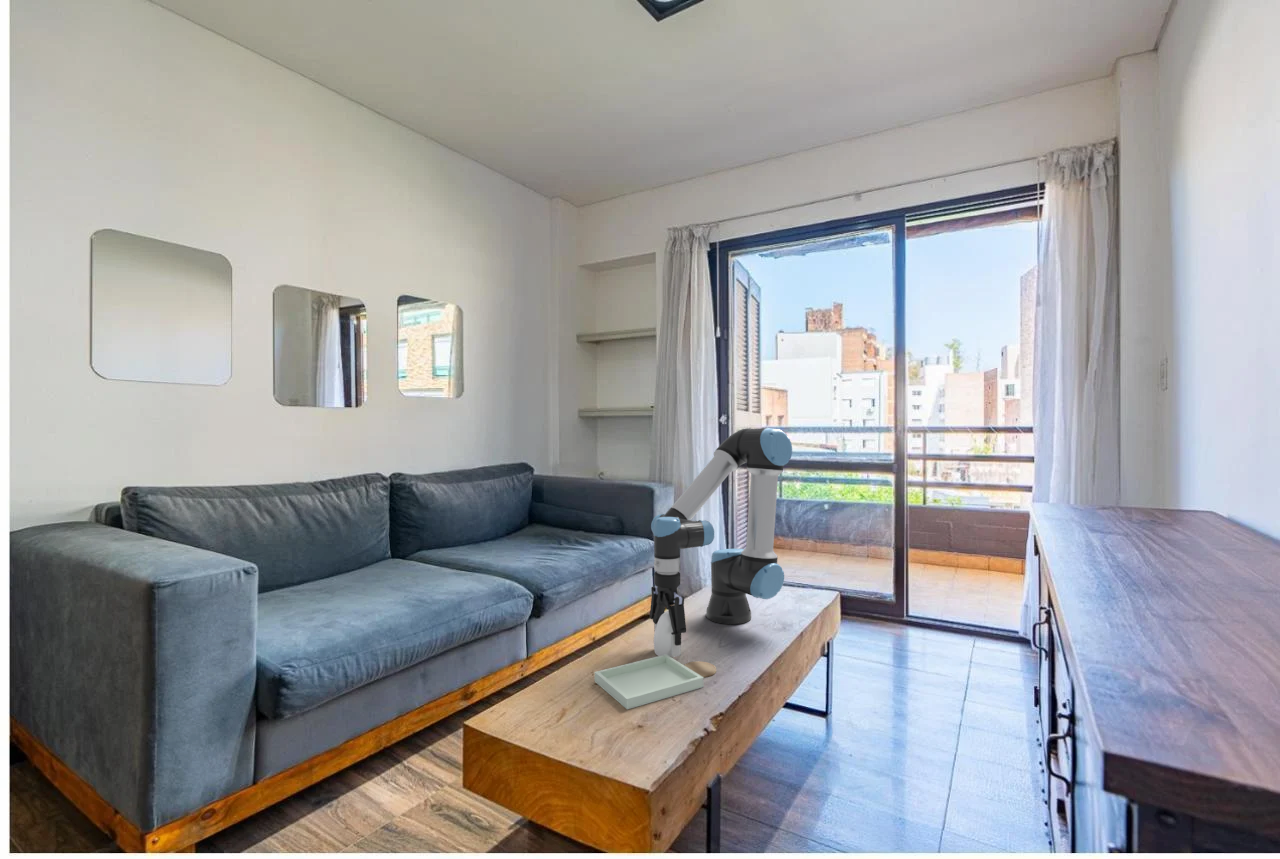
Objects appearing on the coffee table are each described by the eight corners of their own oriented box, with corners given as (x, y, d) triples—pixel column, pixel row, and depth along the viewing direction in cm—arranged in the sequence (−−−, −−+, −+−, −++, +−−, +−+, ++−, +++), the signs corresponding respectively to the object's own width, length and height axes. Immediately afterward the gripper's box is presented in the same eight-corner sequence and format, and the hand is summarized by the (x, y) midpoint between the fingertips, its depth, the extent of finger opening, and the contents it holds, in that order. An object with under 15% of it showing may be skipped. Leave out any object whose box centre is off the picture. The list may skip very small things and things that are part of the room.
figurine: (678, 658, 160) (678, 616, 160) (651, 656, 161) (651, 614, 161) (681, 649, 167) (681, 608, 167) (656, 647, 168) (655, 606, 168)
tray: (666, 662, 157) (666, 654, 157) (703, 686, 142) (703, 677, 142) (594, 681, 146) (594, 671, 146) (627, 709, 131) (627, 699, 131)
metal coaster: (696, 660, 159) (696, 658, 159) (723, 669, 152) (723, 668, 152) (675, 670, 152) (675, 668, 152) (702, 680, 146) (702, 678, 146)
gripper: (637, 565, 171) (637, 641, 171) (676, 581, 153) (677, 666, 153) (658, 562, 175) (658, 636, 175) (699, 577, 157) (699, 660, 157)
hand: (667, 650), depth 164 cm, fingers closed on figurine, 8 cm apart
